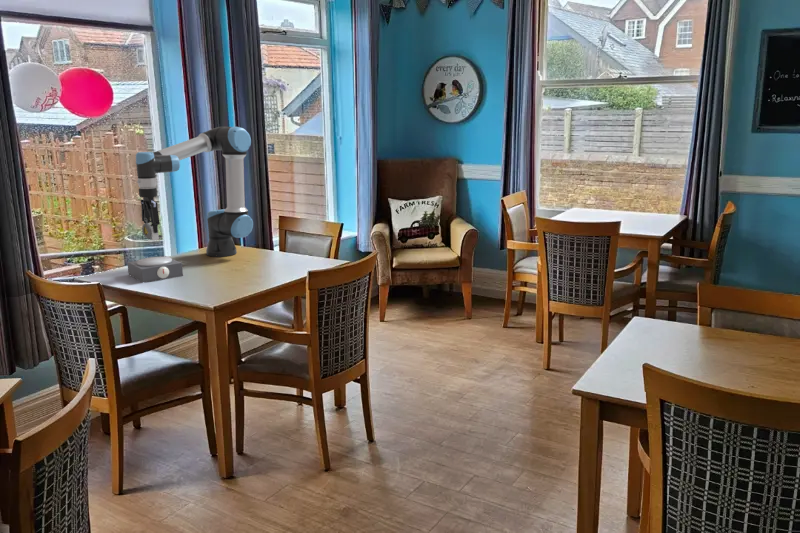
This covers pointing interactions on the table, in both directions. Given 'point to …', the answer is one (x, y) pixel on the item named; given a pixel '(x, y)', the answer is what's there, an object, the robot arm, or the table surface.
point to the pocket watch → (148, 230)
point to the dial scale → (155, 268)
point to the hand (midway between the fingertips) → (152, 238)
